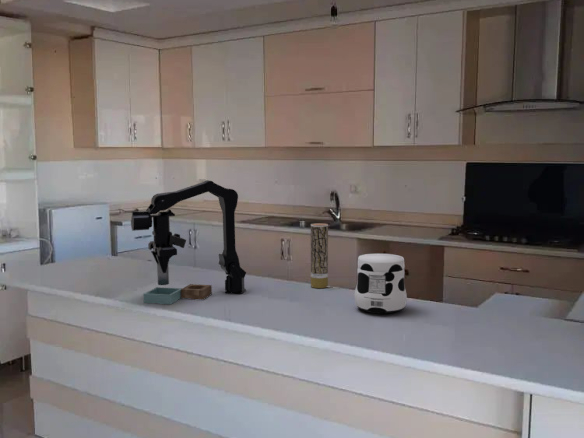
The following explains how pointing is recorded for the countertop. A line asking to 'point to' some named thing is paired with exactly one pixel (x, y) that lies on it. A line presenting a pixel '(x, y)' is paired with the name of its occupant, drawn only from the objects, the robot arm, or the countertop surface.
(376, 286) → the milk container
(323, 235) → the bark textured cylinder
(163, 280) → the translucent grey cylinder
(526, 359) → the countertop surface
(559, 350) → the countertop surface
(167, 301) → the tray
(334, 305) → the countertop surface
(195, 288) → the block
